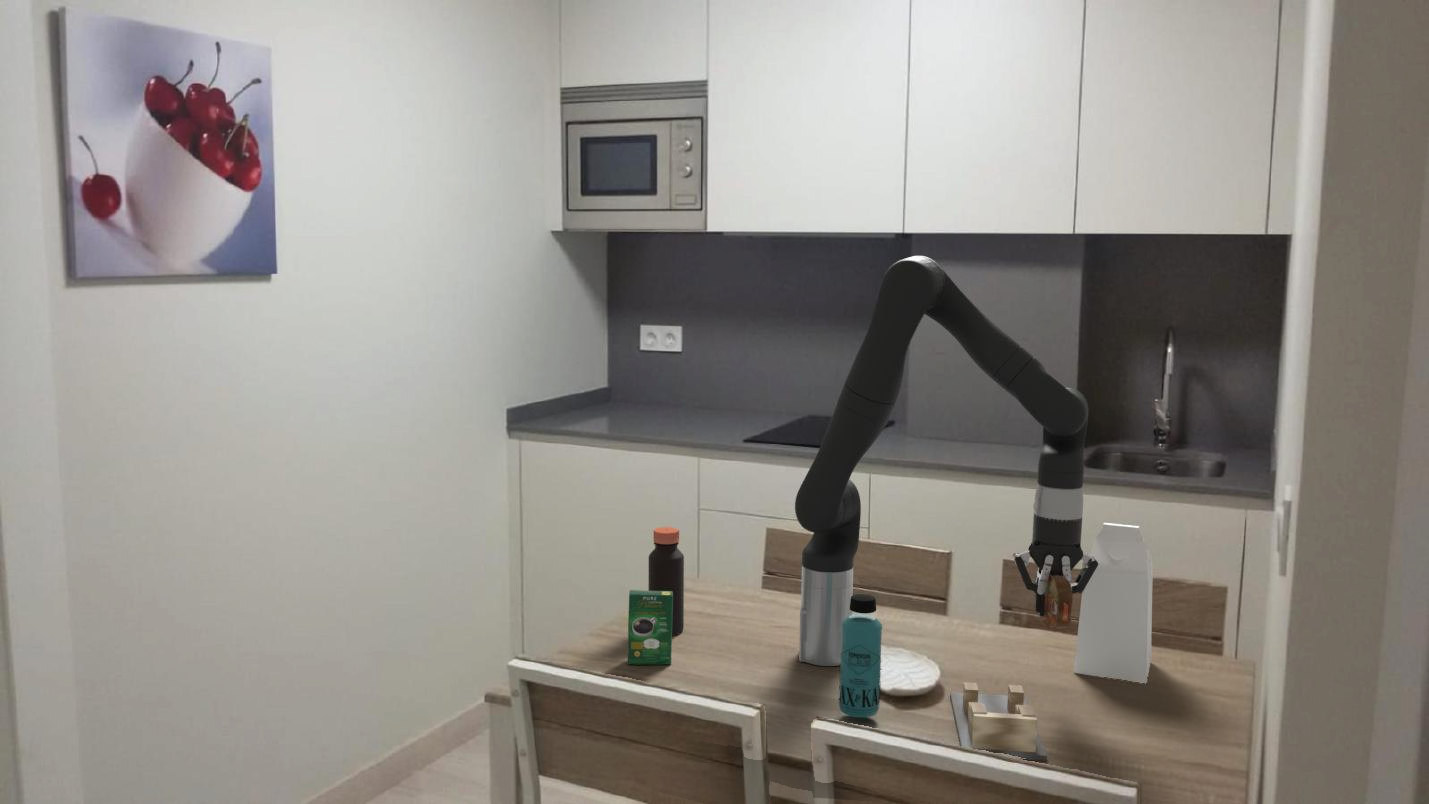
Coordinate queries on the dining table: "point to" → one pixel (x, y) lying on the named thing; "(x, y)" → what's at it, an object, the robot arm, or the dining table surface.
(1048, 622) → the tin
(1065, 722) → the dining table surface
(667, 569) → the vinegar
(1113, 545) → the milk
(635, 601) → the coffee box
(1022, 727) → the clip
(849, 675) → the beverage bottle
